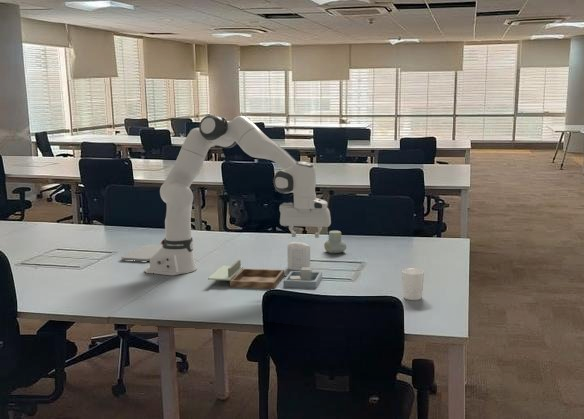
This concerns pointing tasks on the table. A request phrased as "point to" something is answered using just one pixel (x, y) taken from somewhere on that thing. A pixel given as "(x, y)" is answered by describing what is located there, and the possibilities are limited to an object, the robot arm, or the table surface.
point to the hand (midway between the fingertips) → (305, 237)
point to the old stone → (295, 278)
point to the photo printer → (298, 255)
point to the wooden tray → (257, 278)
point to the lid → (226, 272)
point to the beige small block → (306, 274)
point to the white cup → (412, 283)
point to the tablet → (142, 253)
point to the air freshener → (335, 243)
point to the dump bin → (302, 284)
